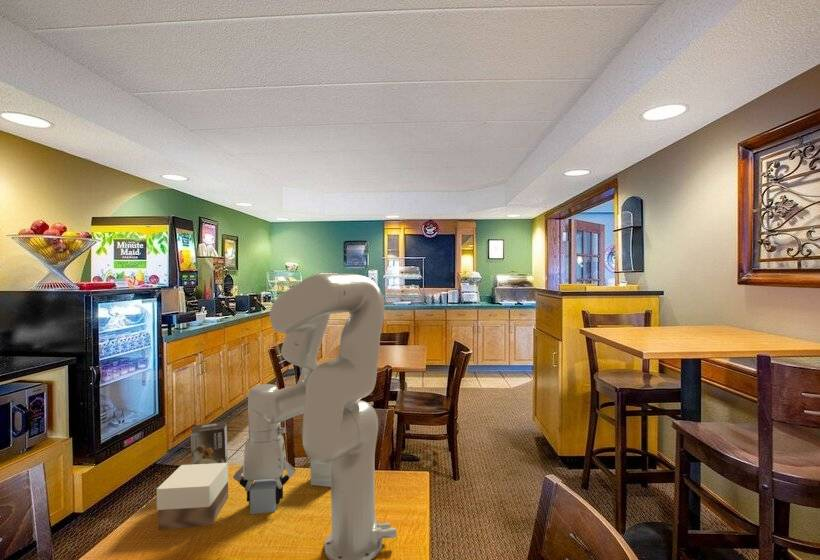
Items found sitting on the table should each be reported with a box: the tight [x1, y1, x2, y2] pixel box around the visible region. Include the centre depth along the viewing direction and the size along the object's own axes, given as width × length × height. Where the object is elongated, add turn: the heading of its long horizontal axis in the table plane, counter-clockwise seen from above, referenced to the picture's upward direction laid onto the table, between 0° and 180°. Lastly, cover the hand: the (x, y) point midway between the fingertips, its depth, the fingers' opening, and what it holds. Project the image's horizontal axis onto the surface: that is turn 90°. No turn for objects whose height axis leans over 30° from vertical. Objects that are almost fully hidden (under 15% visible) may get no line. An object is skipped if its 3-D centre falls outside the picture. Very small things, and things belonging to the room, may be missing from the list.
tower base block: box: [157, 481, 229, 531], centre depth 100 cm, size 12×12×5 cm
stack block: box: [249, 479, 279, 515], centre depth 103 cm, size 6×6×6 cm
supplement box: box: [309, 459, 332, 488], centre depth 115 cm, size 7×7×13 cm
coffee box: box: [190, 421, 229, 476], centre depth 116 cm, size 9×6×16 cm
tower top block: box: [156, 462, 229, 511], centre depth 100 cm, size 12×12×5 cm
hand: (265, 501), depth 103 cm, fingers closed on stack block, 6 cm apart
